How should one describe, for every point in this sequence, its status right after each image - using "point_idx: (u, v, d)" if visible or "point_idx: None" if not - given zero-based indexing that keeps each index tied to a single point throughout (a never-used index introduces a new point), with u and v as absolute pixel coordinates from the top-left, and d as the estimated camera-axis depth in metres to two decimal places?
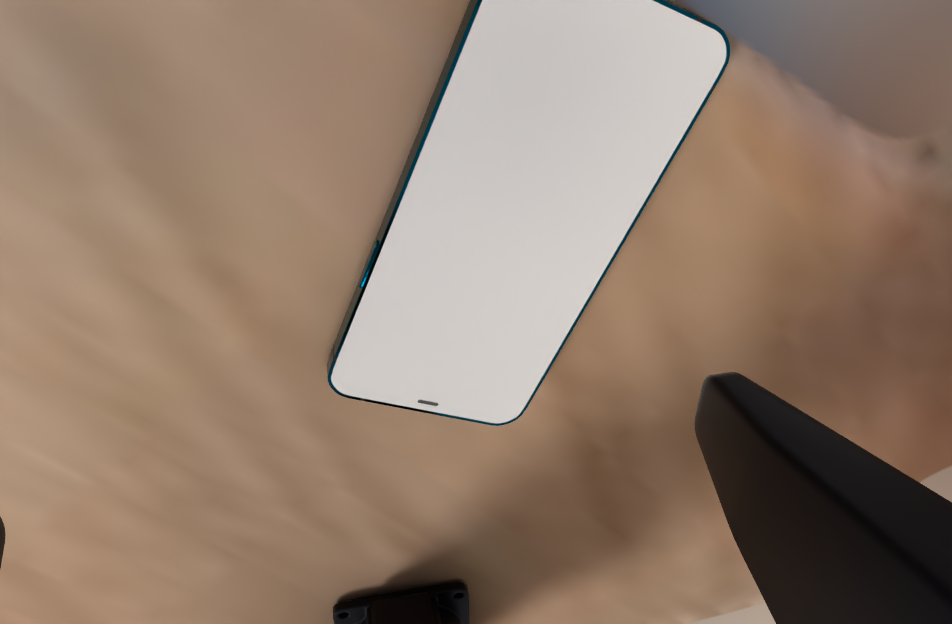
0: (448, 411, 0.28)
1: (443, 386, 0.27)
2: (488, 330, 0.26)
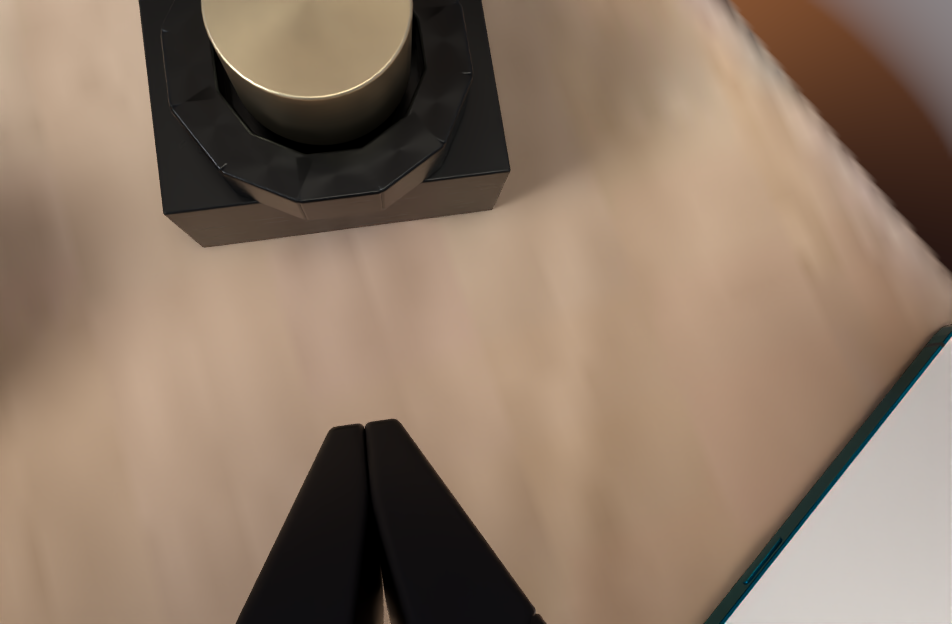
0: None
1: None
2: None
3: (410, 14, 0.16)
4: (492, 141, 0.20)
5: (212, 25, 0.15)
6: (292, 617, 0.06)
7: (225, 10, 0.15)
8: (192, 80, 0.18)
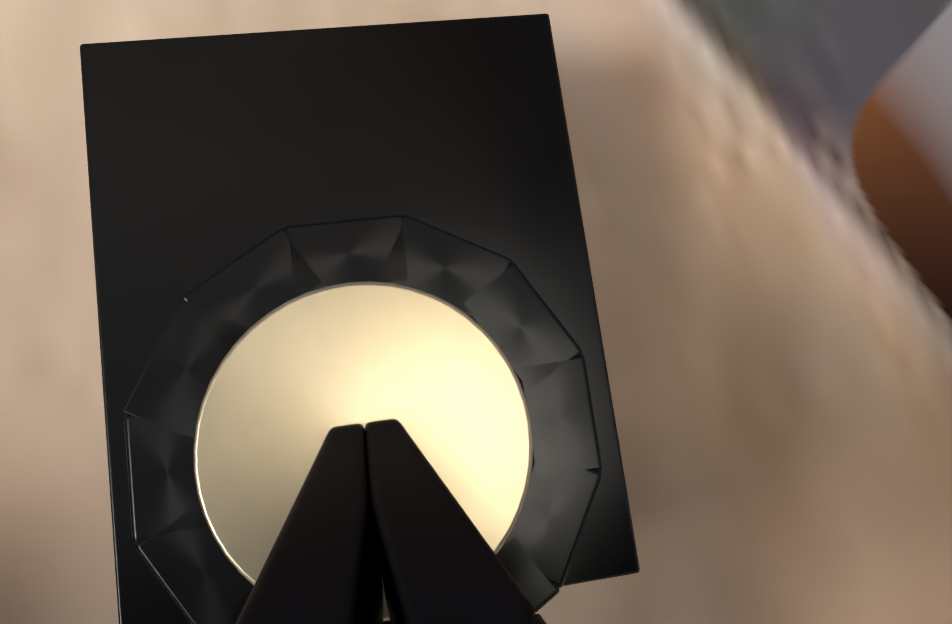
0: None
1: None
2: None
3: (530, 464, 0.10)
4: (613, 526, 0.14)
5: (210, 498, 0.09)
6: (292, 617, 0.06)
7: (233, 470, 0.09)
8: (171, 497, 0.11)
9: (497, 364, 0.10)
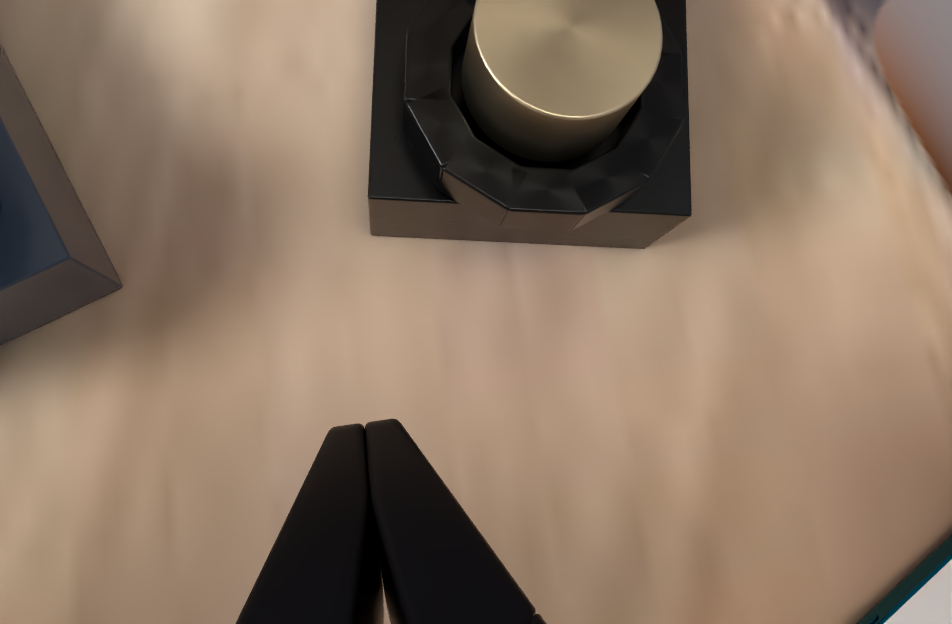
0: None
1: None
2: None
3: (659, 56, 0.17)
4: (679, 185, 0.21)
5: (481, 34, 0.17)
6: (292, 617, 0.06)
7: (495, 23, 0.17)
8: (429, 80, 0.19)
9: (648, 0, 0.17)
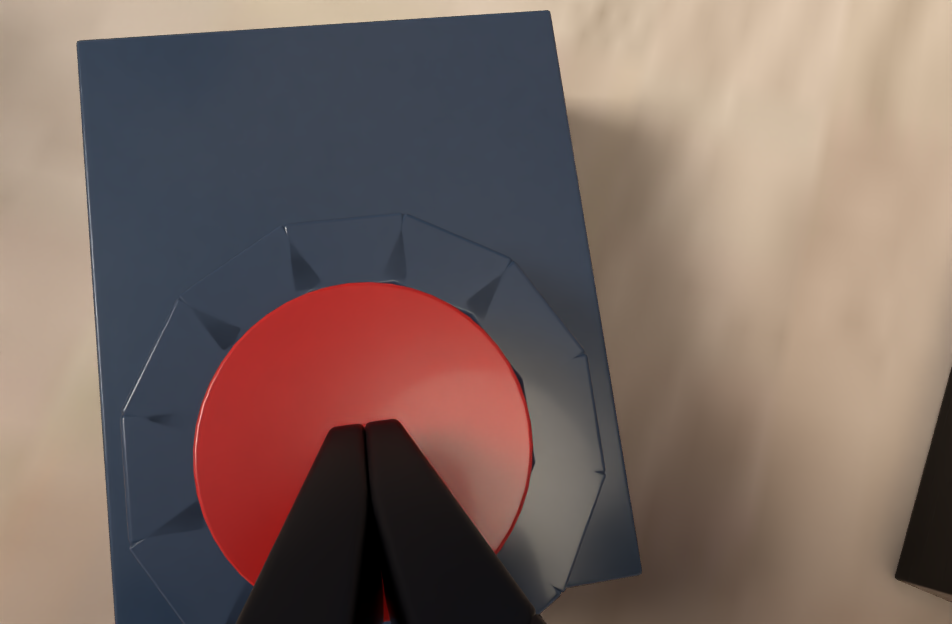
0: None
1: None
2: None
3: None
4: None
5: None
6: (292, 617, 0.06)
7: None
8: None
9: None
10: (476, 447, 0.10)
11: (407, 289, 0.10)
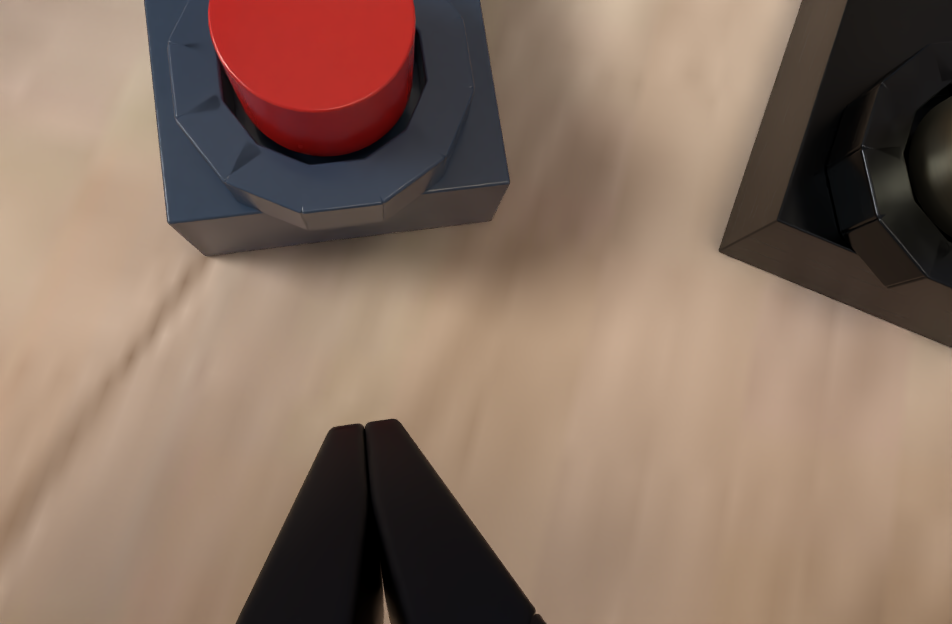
0: None
1: None
2: None
3: None
4: None
5: None
6: (292, 617, 0.06)
7: None
8: (888, 135, 0.20)
9: None
10: (379, 17, 0.16)
11: None
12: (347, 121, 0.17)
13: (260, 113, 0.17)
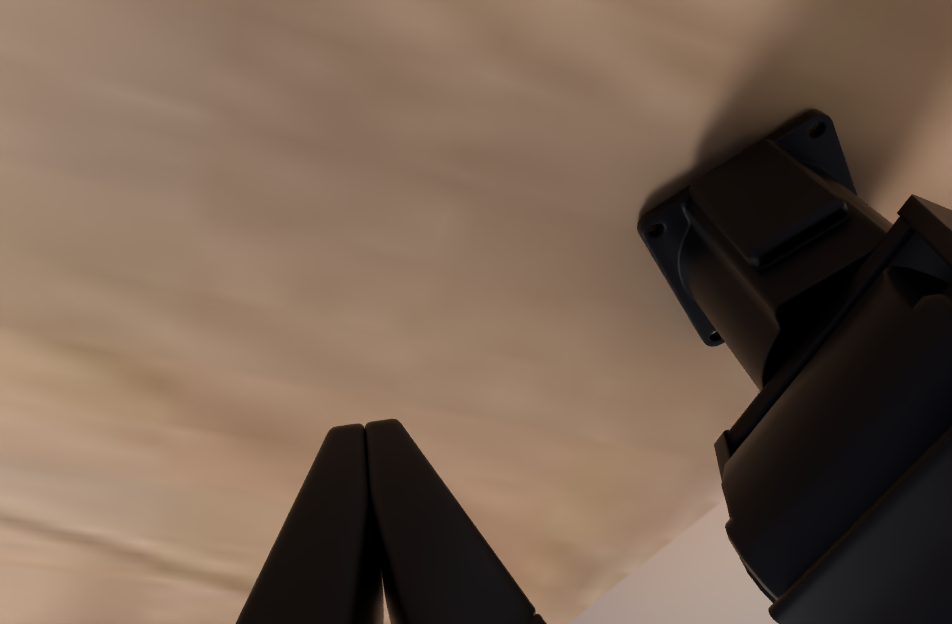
0: None
1: None
2: None
3: None
4: None
5: None
6: (292, 617, 0.06)
7: None
8: None
9: None
10: None
11: None
12: None
13: None
